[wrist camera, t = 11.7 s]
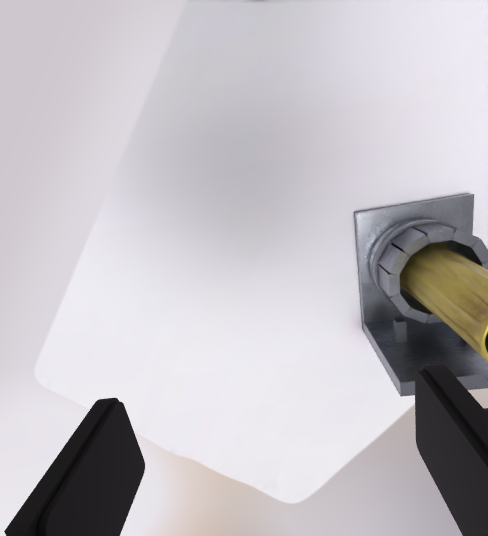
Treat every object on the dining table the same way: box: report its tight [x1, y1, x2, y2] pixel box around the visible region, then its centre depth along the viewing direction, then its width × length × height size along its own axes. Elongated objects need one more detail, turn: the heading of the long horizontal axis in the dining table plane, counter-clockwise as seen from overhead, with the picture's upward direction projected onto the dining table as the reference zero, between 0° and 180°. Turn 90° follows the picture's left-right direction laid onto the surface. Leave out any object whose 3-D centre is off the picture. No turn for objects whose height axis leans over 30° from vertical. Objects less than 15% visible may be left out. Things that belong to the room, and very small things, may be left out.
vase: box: [400, 242, 488, 362], centre depth 27 cm, size 6×6×14 cm
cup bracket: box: [354, 194, 488, 396], centre depth 31 cm, size 15×12×12 cm
